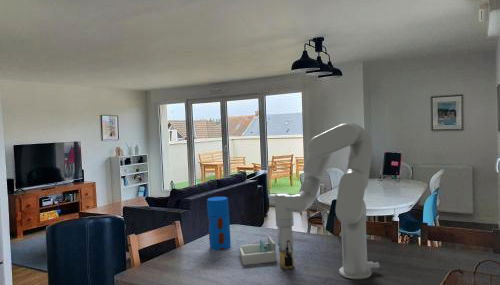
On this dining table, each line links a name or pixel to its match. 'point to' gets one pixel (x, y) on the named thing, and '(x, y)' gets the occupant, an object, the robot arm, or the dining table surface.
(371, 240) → the dining table surface
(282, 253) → the amber jar
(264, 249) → the plate
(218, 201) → the thermos
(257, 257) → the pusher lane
